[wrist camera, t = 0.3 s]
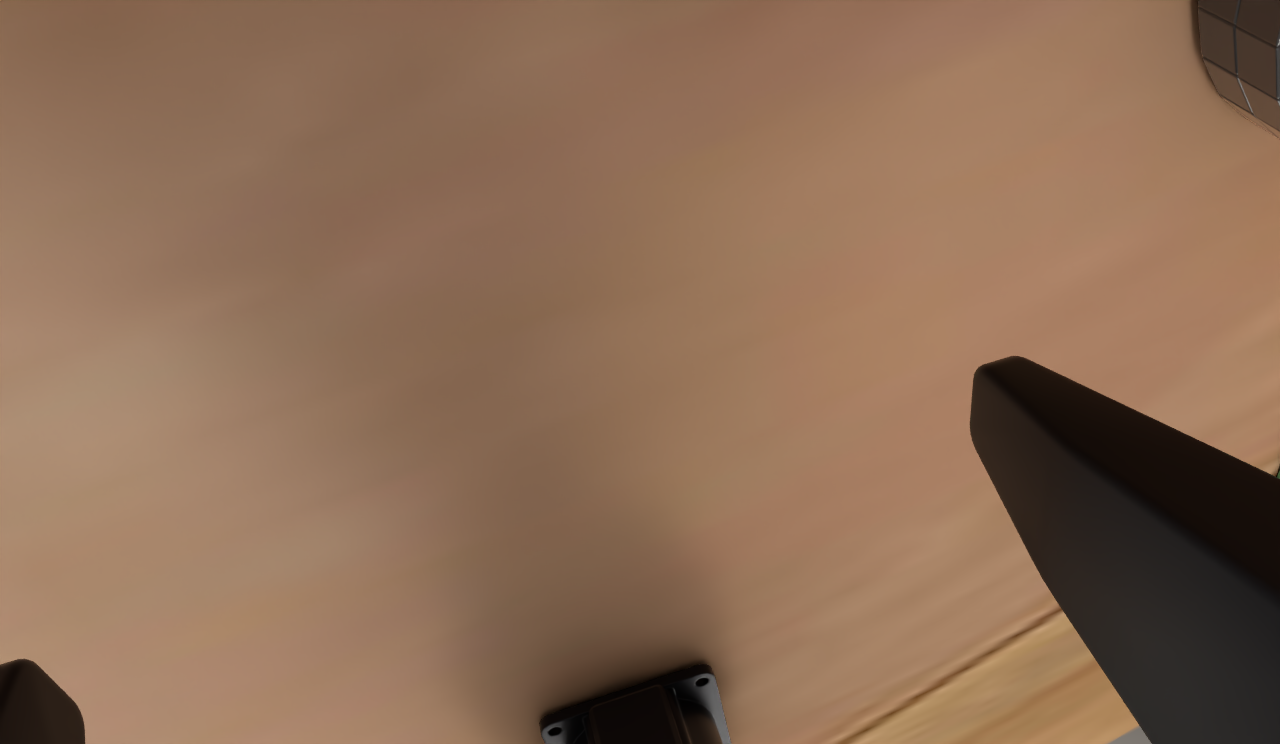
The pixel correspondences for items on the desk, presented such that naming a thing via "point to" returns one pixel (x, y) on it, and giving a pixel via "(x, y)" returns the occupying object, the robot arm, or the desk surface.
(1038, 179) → the desk surface
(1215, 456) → the robot arm
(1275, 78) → the pan
